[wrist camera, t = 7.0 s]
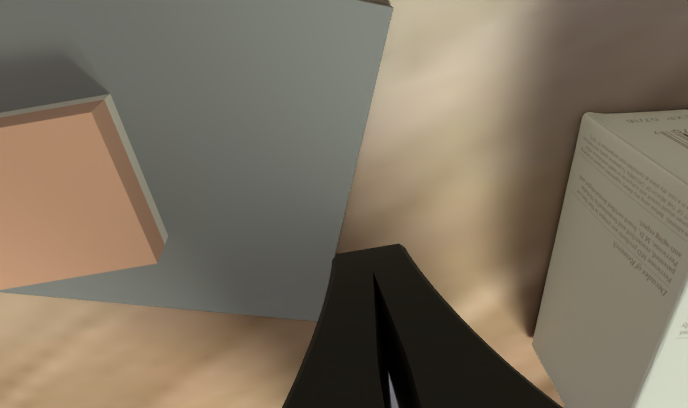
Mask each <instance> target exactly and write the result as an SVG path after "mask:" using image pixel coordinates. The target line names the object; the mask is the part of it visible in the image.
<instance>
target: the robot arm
mask: <svg viewBox="0 0 688 408" xmlns="http://www.w3.org/2000/svg"><path fill="white" fill-rule="evenodd" d="M282 408H562V407H561V406H560V405H559V404H557V403H556V402H555V401H553V400H552V399H551V398H550V397H548V396H547V395H546V394H544V393H543V392H542V391H541V390H539V389H538V388H537V387H536V386H534V385H533V384H532V383H531V382H530V381H528V380H527V379H526V378H525V377H524V376H522V375H521V374H520V373H519V372H518V371H517V370H515V369H514V368H513V367H512V366H511V365H510V364H509V363H507V362H506V361H505V360H504V359H503V358H502V357H501V356H500V355H499V354H497V353H496V352H495V351H494V350H493V349H492V348H491V347H490V346H489V345H488V344H487V343H486V342H485V341H484V340H483V339H482V338H481V337H480V336H479V335H478V334H477V333H475V332H474V331H473V330H472V329H471V328H470V326H469V325H468V324H467V323H466V322H465V321H464V320H463V319H462V318H461V317H460V316H459V315H458V314H457V313H456V312H455V311H454V310H453V308H452V307H451V306H450V305H449V304H448V303H447V302H446V301H445V300H444V299H443V297H442V296H441V295H440V294H439V293H438V292H437V291H436V289H435V288H434V287H433V286H432V285H431V283H430V282H429V281H428V280H427V278H426V277H425V276H424V275H423V273H422V272H421V271H420V269H419V268H418V267H417V265H416V264H415V263H414V261H413V260H412V258H411V257H410V255H409V254H408V252H407V250H406V249H405V247H403V246H402V245H400V244H394V245H388V246H382V247H376V248H370V249H364V250H359V251H353V252H347V253H341V254H337V255H336V256H335V257H334V258H333V259H332V268H331V274H330V279H329V284H328V288H327V292H326V296H325V300H324V303H323V307H322V310H321V313H320V316H319V319H318V322H317V325H316V328H315V331H314V334H313V337H312V340H311V342H310V345H309V347H308V350H307V352H306V355H305V357H304V359H303V362H302V364H301V367H300V369H299V372H298V374H297V377H296V379H295V381H294V383H293V385H292V388H291V390H290V392H289V394H288V396H287V398H286V400H285V403H284V405H283V407H282Z"/></svg>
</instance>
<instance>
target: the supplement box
mask: <svg viewBox="0 0 688 408" xmlns="http://www.w3.org/2000/svg"><path fill="white" fill-rule="evenodd" d="M532 346H533V348H534V350H535V352H536V354H537V356H538V358H539V360H540V362H541V363H542V365H543V367H544V369H545V371H546V372H547V374H548V376H549V378H550V380H551V382H552V383H553V385H554V387H555V389H556V391H557V392H558V394H559V396H560V398H561V400H562V401H563V403H564V405H565V407H566V408H688V109H684V110H669V111H654V112H634V113H615V114H603V113H593V112H587V113H585V114H584V115H583V116H582V120H581V125H580V129H579V134H578V139H577V144H576V149H575V153H574V158H573V162H572V165H571V170H570V175H569V179H568V183H567V188H566V193H565V197H564V202H563V207H562V211H561V216H560V220H559V225H558V229H557V233H556V238H555V243H554V247H553V252H552V256H551V260H550V265H549V269H548V273H547V278H546V283H545V287H544V292H543V297H542V301H541V306H540V310H539V315H538V319H537V324H536V328H535V333H534V337H533V342H532Z"/></svg>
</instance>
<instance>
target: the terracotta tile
mask: <svg viewBox="0 0 688 408" xmlns="http://www.w3.org/2000/svg"><path fill="white" fill-rule="evenodd" d="M167 238H168V234H167V232H166V229H165V227H164V224H163V222H162V220H161V217H160V215H159V212H158V210H157V207H156V205H155V202H154V200H153V197H152V195H151V193H150V190H149V188H148V185H147V183H146V180H145V178H144V175H143V173H142V170H141V168H140V166H139V163H138V161H137V158H136V156H135V153H134V151H133V148H132V146H131V144H130V141H129V139H128V136H127V134H126V131H125V129H124V126H123V124H122V121H121V119H120V117H119V114H118V112H117V109H116V107H115V104H114V102H113V99H112V97H111V94H106V95H100V96H94V97H89V98H83V99H77V100H71V101H65V102H60V103H54V104H48V105H42V106H36V107H31V108H25V109H19V110H13V111H7V112H2V113H0V290H3V289H9V288H15V287H21V286H27V285H33V284H39V283H44V282H50V281H56V280H62V279H68V278H74V277H80V276H86V275H92V274H98V273H103V272H109V271H115V270H121V269H127V268H133V267H139V266H145V265H151V264H157V263H158V261H159V258H160V256H161V253H162V251H163V248H164V246H165V243H166V241H167Z"/></svg>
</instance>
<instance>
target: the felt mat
mask: <svg viewBox="0 0 688 408" xmlns="http://www.w3.org/2000/svg"><path fill="white" fill-rule="evenodd" d="M392 12H393V7H392V6H390V5H385V4H380V3H375V2H370V1H365V0H0V113H2V112H7V111H13V110H19V109H25V108H31V107H36V106H42V105H48V104H54V103H60V102H65V101H71V100H77V99H83V98H89V97H94V96H100V95H106V94H111V97H112V99H113V102H114V104H115V107H116V109H117V112H118V114H119V117H120V119H121V121H122V124H123V126H124V129H125V131H126V134H127V136H128V139H129V141H130V144H131V146H132V148H133V151H134V153H135V156H136V158H137V161H138V163H139V166H140V168H141V170H142V173H143V175H144V178H145V180H146V183H147V185H148V188H149V190H150V193H151V195H152V197H153V200H154V202H155V205H156V207H157V210H158V212H159V215H160V217H161V220H162V222H163V224H164V227H165V229H166V232H167V234H168V238H167V241H166V243H165V246H164V248H163V251H162V253H161V256H160V258H159V261H158V263H157V264H151V265H145V266H139V267H133V268H127V269H121V270H115V271H109V272H103V273H98V274H92V275H86V276H80V277H74V278H68V279H62V280H56V281H50V282H44V283H39V284H33V285H27V286H21V287H15V288H9V289H3V290H0V292H4V293H15V294H26V295H36V296H47V297H58V298H69V299H79V300H90V301H101V302H112V303H123V304H133V305H144V306H155V307H166V308H176V309H187V310H198V311H209V312H220V313H230V314H241V315H252V316H263V317H273V318H284V319H295V320H306V321H316V322H318V319H319V316H320V313H321V310H322V307H323V303H324V299H325V295H326V291H327V286H328V282H329V278H330V274H331V268H332V259H333V258H334V257H335V253H336V248H337V244H338V240H339V236H340V231H341V227H342V223H343V219H344V214H345V210H346V206H347V202H348V198H349V193H350V189H351V185H352V181H353V176H354V172H355V168H356V164H357V160H358V155H359V151H360V147H361V143H362V138H363V134H364V130H365V126H366V121H367V117H368V113H369V109H370V105H371V100H372V96H373V92H374V88H375V83H376V79H377V75H378V71H379V67H380V62H381V58H382V54H383V50H384V45H385V41H386V37H387V33H388V28H389V24H390V20H391V16H392Z"/></svg>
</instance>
